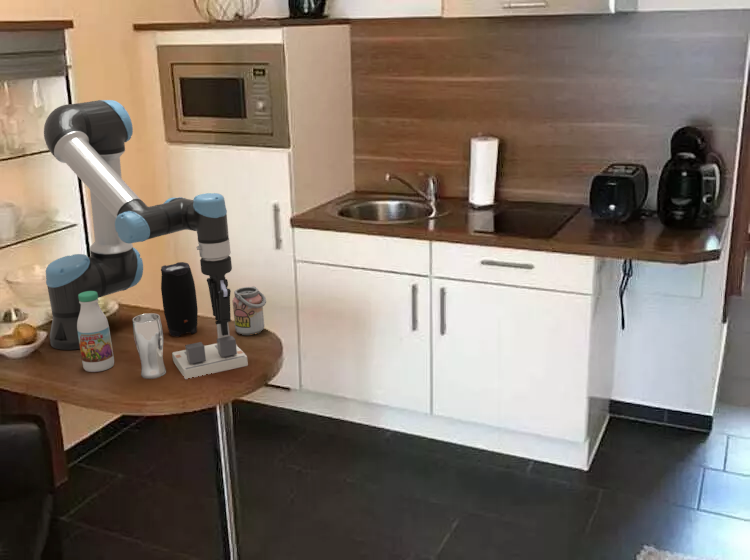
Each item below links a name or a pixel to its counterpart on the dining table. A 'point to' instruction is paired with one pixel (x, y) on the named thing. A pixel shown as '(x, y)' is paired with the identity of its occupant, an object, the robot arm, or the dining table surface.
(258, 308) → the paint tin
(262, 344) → the dining table surface
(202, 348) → the tab
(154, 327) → the beer glass
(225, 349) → the tab
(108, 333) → the milk bottle
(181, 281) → the portable speaker
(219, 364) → the switch panel
